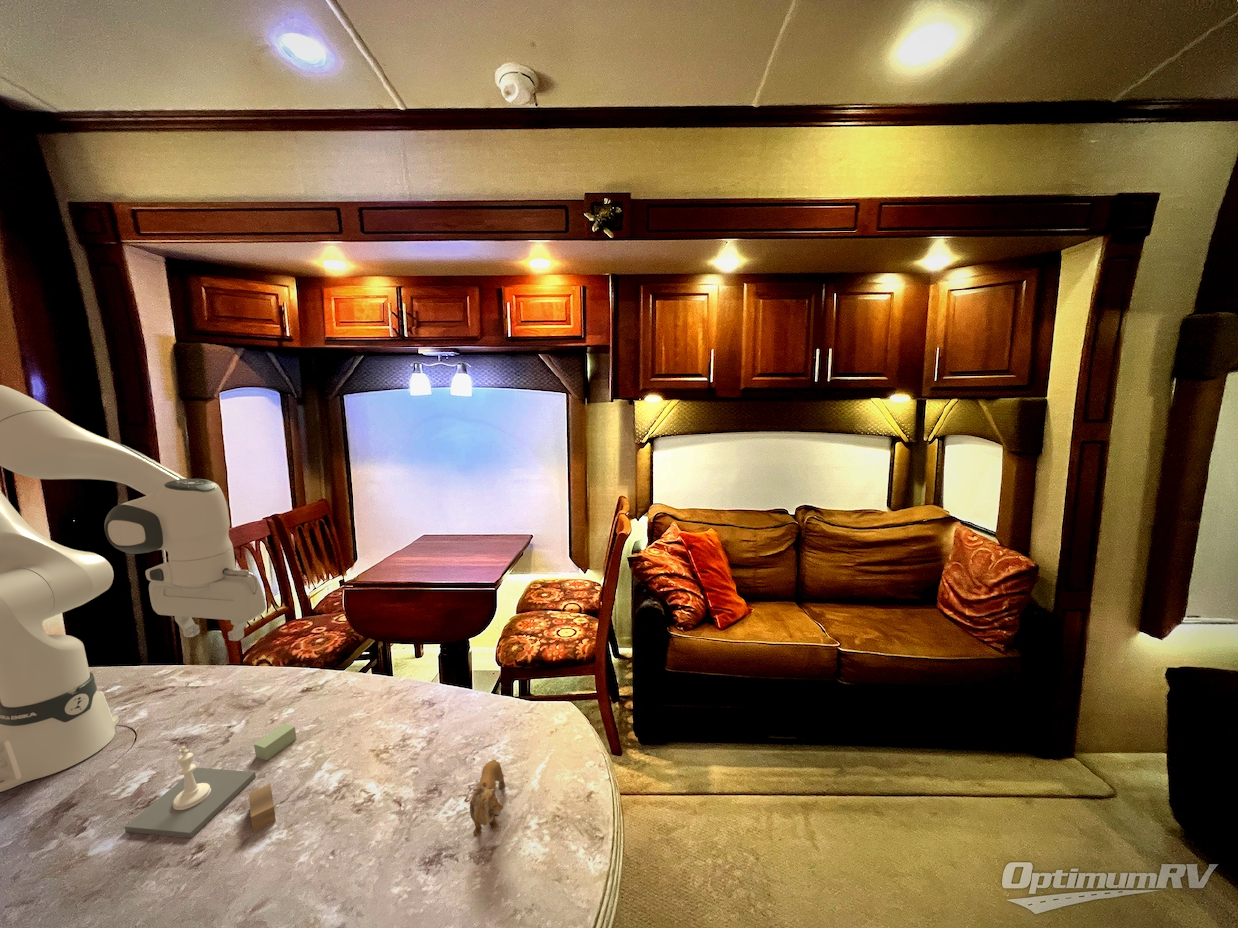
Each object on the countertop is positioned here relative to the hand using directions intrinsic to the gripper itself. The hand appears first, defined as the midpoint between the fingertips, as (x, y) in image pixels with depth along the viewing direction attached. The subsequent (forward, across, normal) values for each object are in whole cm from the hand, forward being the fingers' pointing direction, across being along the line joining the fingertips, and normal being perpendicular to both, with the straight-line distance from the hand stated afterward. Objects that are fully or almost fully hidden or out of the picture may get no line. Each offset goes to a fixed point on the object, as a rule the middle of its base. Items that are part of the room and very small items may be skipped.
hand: (214, 637), depth 87 cm
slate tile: (+26, -3, +10) cm, 28 cm away
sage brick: (+26, -7, -3) cm, 27 cm away
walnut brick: (+26, -17, +10) cm, 32 cm away
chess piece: (+25, -3, +10) cm, 27 cm away
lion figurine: (+25, -56, +6) cm, 61 cm away
